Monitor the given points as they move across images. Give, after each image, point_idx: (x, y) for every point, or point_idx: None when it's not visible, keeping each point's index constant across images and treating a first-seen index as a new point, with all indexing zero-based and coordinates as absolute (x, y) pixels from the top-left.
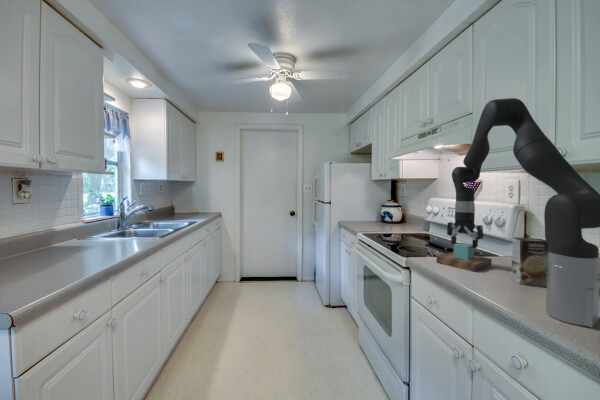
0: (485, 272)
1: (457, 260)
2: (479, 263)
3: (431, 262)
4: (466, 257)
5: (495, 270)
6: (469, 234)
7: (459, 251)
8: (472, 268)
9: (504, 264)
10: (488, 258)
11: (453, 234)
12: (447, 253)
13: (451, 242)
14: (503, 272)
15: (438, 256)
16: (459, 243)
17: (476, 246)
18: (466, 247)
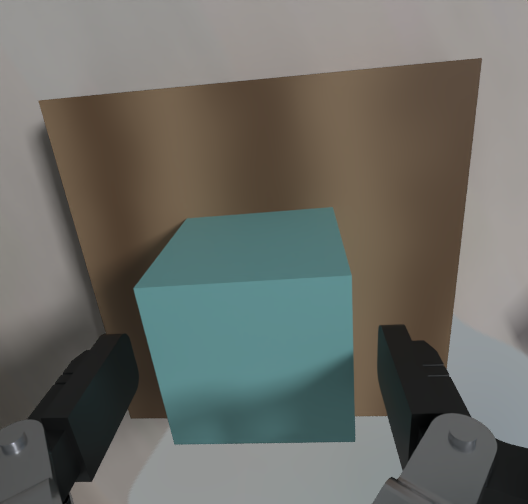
0: (39, 167)
1: (226, 104)
2: (72, 208)
3: (497, 18)
4: (193, 226)
5: (55, 284)
6: (39, 497)
7: (263, 240)
8: (81, 96)
9: (131, 457)
10: (146, 410)
11: (440, 463)
12: (453, 301)
13: (432, 350)
14: (3, 281)
15: (462, 75)
16: (328, 389)
17: (75, 364)
18: (161, 280)
